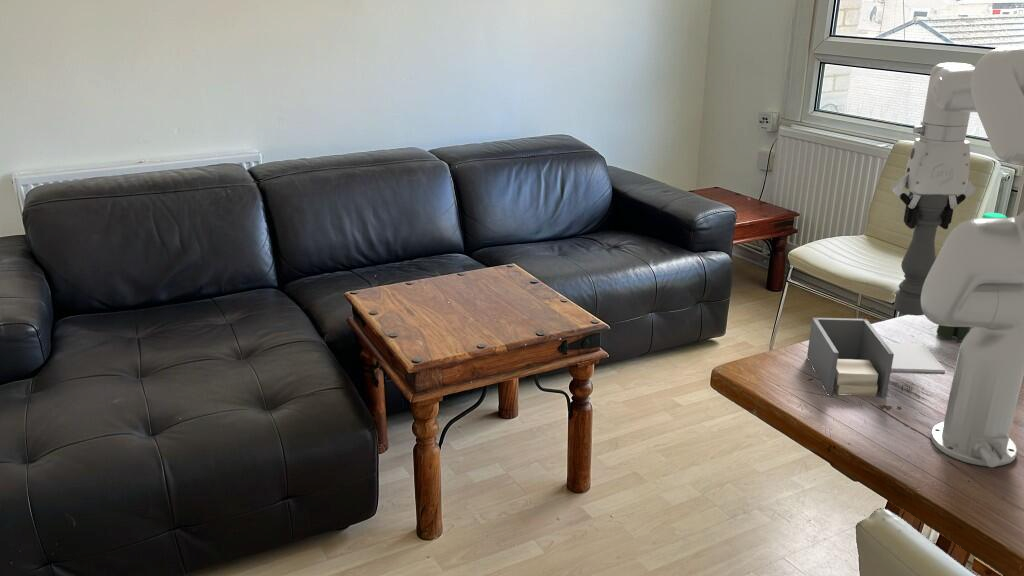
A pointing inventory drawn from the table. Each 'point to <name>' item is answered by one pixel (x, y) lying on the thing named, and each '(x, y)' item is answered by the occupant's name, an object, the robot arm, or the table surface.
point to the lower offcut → (856, 390)
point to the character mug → (952, 332)
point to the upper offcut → (855, 373)
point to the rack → (847, 349)
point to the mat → (913, 358)
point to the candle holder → (920, 254)
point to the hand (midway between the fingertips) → (926, 225)
